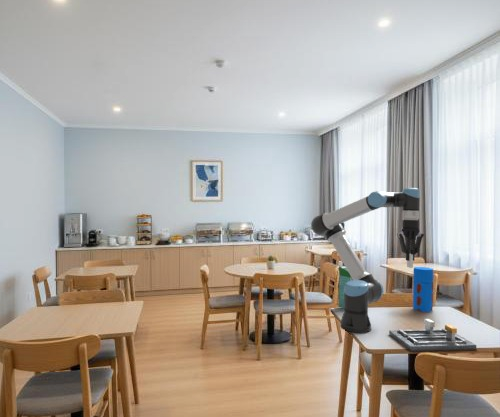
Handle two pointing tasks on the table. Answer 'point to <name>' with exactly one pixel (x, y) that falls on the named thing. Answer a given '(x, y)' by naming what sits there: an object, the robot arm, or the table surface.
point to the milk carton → (343, 283)
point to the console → (430, 340)
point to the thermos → (423, 289)
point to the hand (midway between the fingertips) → (409, 267)
